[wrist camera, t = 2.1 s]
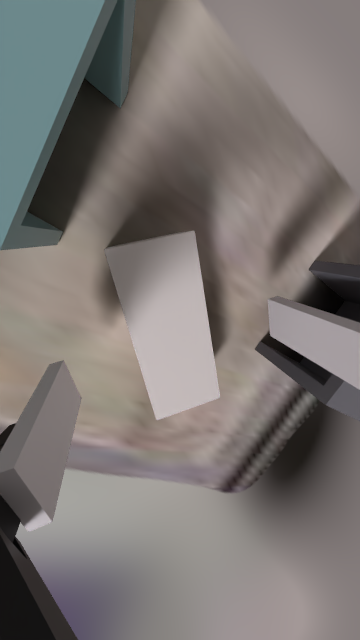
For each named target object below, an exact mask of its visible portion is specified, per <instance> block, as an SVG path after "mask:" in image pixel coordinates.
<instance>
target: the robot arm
mask: <svg viewBox="0 0 360 640" xmlns="http://www.w3.org/2000/svg"><path fill="white" fill-rule="evenodd" d="M268 311H269V327H270V336H271V337H273V338H275V339H276V340H278V341H280V342H281V343H283V344H285V345H286V346H288V347H290V348H291V349H293V350H295V351H296V352H298V353H300V354H301V355H303V356H305V357H306V358H308V359H310V360H311V361H313V362H314V363H316V364H318V365H319V366H321V367H323V368H324V369H326V370H328V371H329V372H331V373H333V374H334V375H336V376H338V377H339V378H341V379H343V380H344V381H346V382H348V383H349V384H351V385H353V386H354V387H356V388H358V389H359V390H360V322H357V321H355V320H352V319H349V318H345V317H340V316H337V315H334V314H331V313H328V312H325V311H322V310H319V309H316V308H313V307H310V306H307V305H304V304H301V303H298V302H295V301H291V300H288V299H285V298H282V297H279V296H276V297H273V298H270V299H268ZM80 402H81V396H80V394H79V392H78V390H77V388H76V385H75V383H74V381H73V379H72V377H71V375H70V373H69V370H68V368H67V366H66V364H65V362H64V360H63V361H59V362H56V363H53V364H50V365H49V366H48V368H47V370H46V372H45V373H44V375H43V377H42V379H41V380H40V382H39V384H38V386H37V388H36V389H35V391H34V393H33V395H32V396H31V398H30V400H29V402H28V403H27V405H26V407H25V409H24V411H23V412H22V414H21V416H20V418H19V419H18V421H17V423H15V424H12V425H9V426H8V427H7V428H6V429H5V430H4V431H3V432H2V433H1V435H0V640H78V639H77V637H76V636H75V634H74V632H73V631H72V629H71V627H70V625H69V624H68V622H67V621H66V619H65V617H64V615H63V614H62V612H61V610H60V609H59V607H58V605H57V604H56V602H55V600H54V599H53V597H52V595H51V594H50V592H49V590H48V588H47V587H46V585H45V584H44V582H43V580H42V578H41V577H40V575H39V573H38V572H37V570H36V568H35V567H34V565H33V563H32V562H31V560H30V558H29V557H28V555H27V553H26V551H25V550H24V548H23V546H22V545H21V543H20V541H19V540H18V539H17V538H16V537H15V535H16V532H17V530H18V527H19V524H20V522H21V523H22V524H23V526H24V527H25V528H26V529H27V531H32V530H34V529H36V528H39V527H41V526H44V525H46V524H49V523H51V522H52V521H53V517H54V512H55V509H56V504H57V500H58V496H59V491H60V487H61V483H62V479H63V474H64V470H65V466H66V462H67V458H68V453H69V449H70V445H71V441H72V436H73V432H74V428H75V424H76V419H77V415H78V411H79V407H80Z"/></svg>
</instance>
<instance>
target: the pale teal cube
mask: <svg viewBox="0 0 360 640" xmlns="http://www.w3.org/2000/svg"><path fill="white" fill-rule="evenodd" d="M135 4H136V0H0V250H8V249H19V248H29V247H40V246H50V245H57V244H58V242H59V240H60V237H61V235H62V233H63V231H61V230H59V229H57V228H56V227H54V226H52V225H50V224H48V223H47V222H45V221H43V220H41V219H40V218H38V217H36V216H34V215H32V214H31V213H29V212H27V210H28V208H29V205H30V203H31V201H32V198H33V196H34V194H35V191H36V189H37V187H38V184H39V182H40V180H41V177H42V175H43V173H44V170H45V168H46V166H47V163H48V161H49V159H50V156H51V154H52V152H53V149H54V147H55V145H56V142H57V140H58V138H59V135H60V133H61V131H62V128H63V126H64V124H65V121H66V119H67V117H68V114H69V112H70V110H71V107H72V105H73V103H74V100H75V98H76V96H77V93H78V91H79V89H80V86H81V84H82V82H83V79H84V78H85V79H86V80H87V81H89V82H90V83H91V84H92V85H93V86H95V87H96V88H97V89H98V90H99V91H100V92H102V93H103V94H104V95H105V96H106V97H107V98H109V99H110V100H111V101H112V102H113V103H115V104H116V105H117V106H118V107H119V108H121V106H122V104H123V102H124V100H125V97H126V95H127V93H128V85H129V73H130V62H131V50H132V39H133V27H134V15H135Z"/></svg>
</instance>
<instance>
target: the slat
mask: <svg viewBox="0 0 360 640" xmlns="http://www.w3.org/2000/svg"><path fill="white" fill-rule="evenodd" d="M104 251H105V255H106V258H107V261H108V264H109V268H110V271H111V274H112V277H113V281H114V284H115V287H116V290H117V293H118V297H119V300H120V303H121V306H122V310H123V313H124V316H125V319H126V323H127V326H128V329H129V332H130V336H131V339H132V342H133V345H134V349H135V352H136V355H137V358H138V362H139V365H140V368H141V371H142V375H143V378H144V381H145V384H146V388H147V391H148V394H149V397H150V401H151V404H152V407H153V410H154V414H155V417H156V420H159V419H162V418H165V417H168V416H170V415H173V414H176V413H179V412H182V411H184V410H187V409H190V408H193V407H195V406H198V405H201V404H204V403H207V402H209V401H212V400H215V399H218V398H220V393H219V387H218V380H217V374H216V367H215V361H214V354H213V348H212V341H211V335H210V328H209V321H208V315H207V308H206V302H205V295H204V289H203V282H202V276H201V269H200V263H199V256H198V250H197V243H196V237H195V231H186V232H178V233H173V234H168V235H163V236H159V237H154V238H149V239H144V240H140V241H135V242H130V243H125V244H121V245H116V246H111V247H107V248H106V249H104Z"/></svg>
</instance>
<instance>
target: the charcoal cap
mask: <svg viewBox="0 0 360 640" xmlns="http://www.w3.org/2000/svg"><path fill="white" fill-rule="evenodd" d="M309 270H310V271H311V272H312V273H313V274H314V275H316V276H317V277H318V278H319V279H320V280H322V281H323V282H324V283H325V284H326V285H327V286H329V287H330V288H331V289H332V290H333V291H335V292H336V293H337V294H338V295H339V296H340V297H342V298H343V299H344V300H345V301H344V303H343V304H342V305H341V307H340V308H339V310H338V311H337V312H336V314H335V315H337V316H340V317H345V318H349V319H352V320H355V321H357V322H360V265H350V264H341V263H332V262H322V261H314V263H313V264H312V266H311V267H310V269H309ZM255 350H256V351H258V352H259V353H260V354H262V355H263V356H264V357H265V358H267V359H268V360H269V361H270V362H272V363H273V364H274V365H276V366H277V367H278V368H279V369H281V370H282V371H283V372H284V373H286V374H287V375H288V376H289V377H291V378H292V379H293V380H295V381H296V382H297V383H298V384H300V385H301V386H302V387H303V388H305V389H306V390H307V391H309V392H310V393H311V394H312V395H314V396H315V397H316V398H317V399H319V400H320V401H321V402H323V403H324V404H325V405H327V406H329V407H331V408H333V409H335V410H337V411H339V412H342V413H344V414H346V415H348V416H350V417H352V418H354V419H356V420H359V421H360V390H359V389H358V388H356V387H354V386H353V385H351V384H349V383H348V382H346V381H344V380H343V379H341V378H339V377H338V376H336V375H334V374H333V373H331V372H329V371H328V370H326V369H324V368H323V367H321V366H319V365H318V364H316V363H314V362H313V361H311V360H310V359H308V358H306V357H304V358H303V359H302V361H301V362H300V363H298V362H296V361H295V360H293V359H291V358H289V357H287V356H286V355H284V354H282V353H280V352H278V351H277V350H275V349H273V348H271V347H269V346H268V345H266V344H264V343H262V342H261V341H260V343H259V344H258V346H257V347H256V349H255Z"/></svg>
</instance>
